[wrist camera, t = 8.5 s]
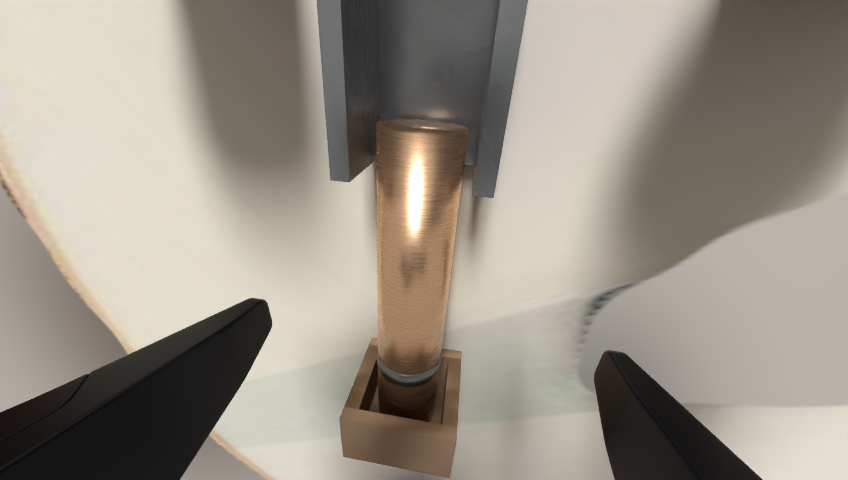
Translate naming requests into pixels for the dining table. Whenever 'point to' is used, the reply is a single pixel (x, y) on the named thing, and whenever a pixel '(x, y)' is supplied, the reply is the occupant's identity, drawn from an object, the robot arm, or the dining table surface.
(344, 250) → the dining table surface
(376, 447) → the socket
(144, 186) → the dining table surface
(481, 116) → the grey channel holder
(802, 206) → the dining table surface
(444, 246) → the tube
